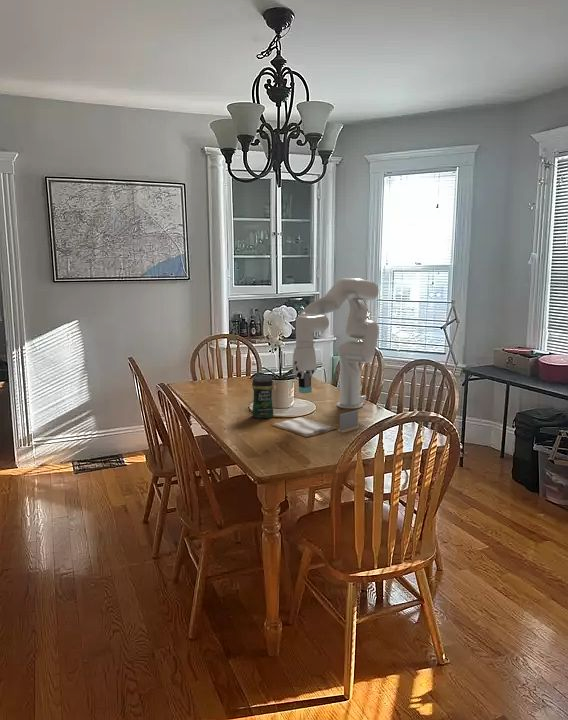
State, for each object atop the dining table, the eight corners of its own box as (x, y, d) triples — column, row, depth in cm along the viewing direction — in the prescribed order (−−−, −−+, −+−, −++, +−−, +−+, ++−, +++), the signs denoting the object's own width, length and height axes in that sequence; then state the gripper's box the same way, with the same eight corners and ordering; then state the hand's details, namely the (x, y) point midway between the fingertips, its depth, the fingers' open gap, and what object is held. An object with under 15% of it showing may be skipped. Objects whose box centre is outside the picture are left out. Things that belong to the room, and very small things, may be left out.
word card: (354, 426, 250) (354, 409, 249) (359, 428, 248) (359, 410, 246) (337, 431, 244) (337, 413, 242) (342, 432, 241) (343, 415, 240)
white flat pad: (301, 418, 264) (301, 414, 264) (337, 429, 246) (337, 425, 246) (271, 425, 253) (271, 421, 253) (306, 437, 236) (306, 433, 235)
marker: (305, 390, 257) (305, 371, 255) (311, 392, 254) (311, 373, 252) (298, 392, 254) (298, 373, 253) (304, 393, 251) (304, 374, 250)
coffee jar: (253, 419, 262) (252, 379, 259) (251, 414, 270) (250, 375, 267) (274, 418, 264) (274, 378, 260) (272, 413, 272) (271, 374, 268)
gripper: (313, 341, 258) (313, 382, 262) (284, 345, 248) (284, 387, 252) (324, 343, 253) (324, 385, 256) (295, 347, 243) (296, 390, 246)
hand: (304, 386), depth 254 cm, fingers closed on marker, 3 cm apart
